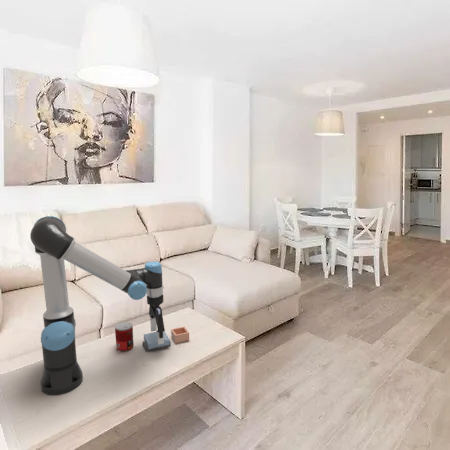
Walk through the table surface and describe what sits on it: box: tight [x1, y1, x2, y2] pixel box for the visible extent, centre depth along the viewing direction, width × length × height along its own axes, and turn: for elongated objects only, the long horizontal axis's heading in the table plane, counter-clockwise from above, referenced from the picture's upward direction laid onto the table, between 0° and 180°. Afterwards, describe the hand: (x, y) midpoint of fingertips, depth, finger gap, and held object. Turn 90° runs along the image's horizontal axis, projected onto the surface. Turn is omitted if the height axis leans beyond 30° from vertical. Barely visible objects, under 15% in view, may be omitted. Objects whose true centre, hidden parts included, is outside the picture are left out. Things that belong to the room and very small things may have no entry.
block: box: [142, 341, 172, 352], centre depth 166 cm, size 12×6×2 cm, turn 115°
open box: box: [170, 326, 190, 345], centre depth 171 cm, size 7×7×4 cm
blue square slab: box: [143, 331, 171, 349], centre depth 165 cm, size 10×10×2 cm
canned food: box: [114, 321, 134, 352], centre depth 164 cm, size 8×8×11 cm
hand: (157, 336), depth 165 cm, fingers open, 13 cm apart
